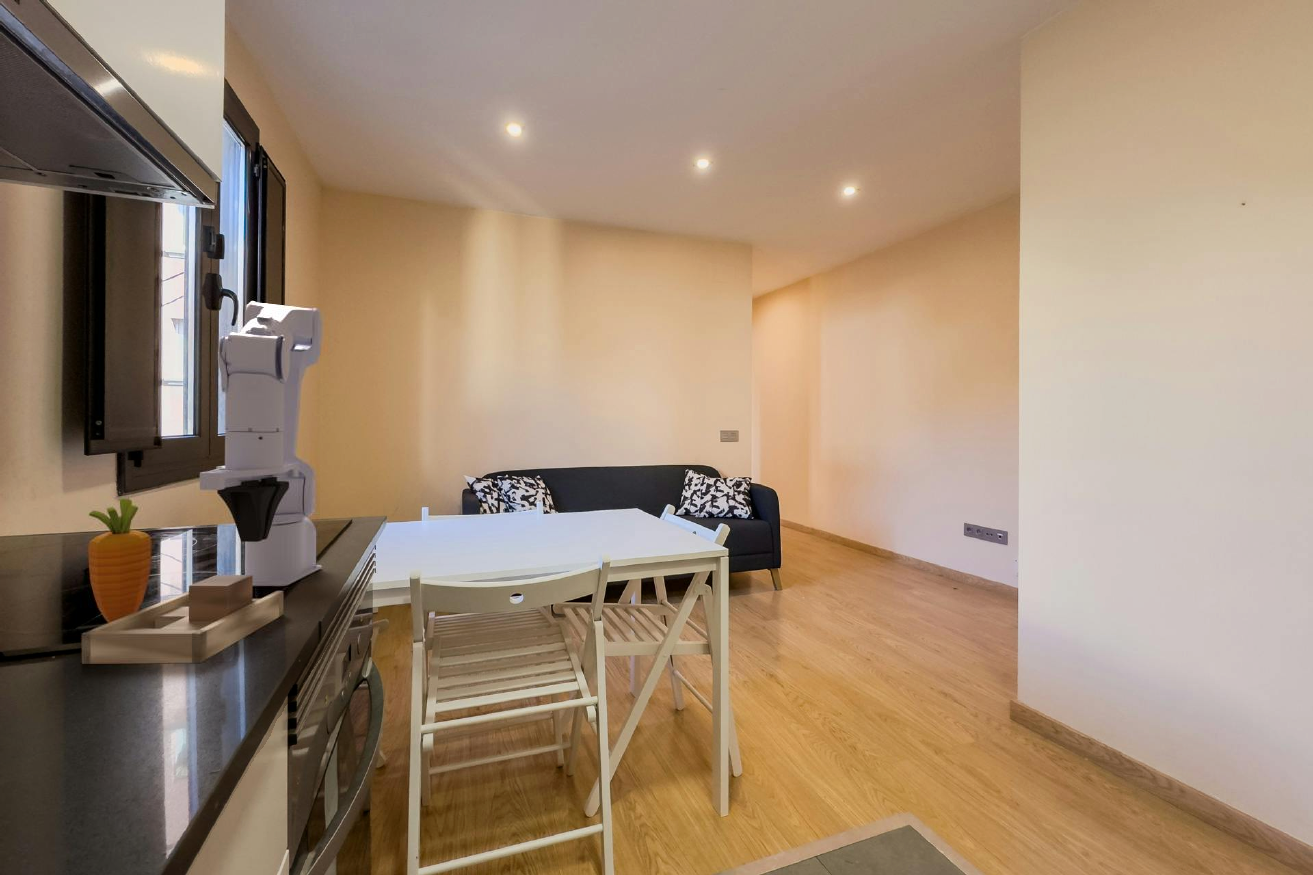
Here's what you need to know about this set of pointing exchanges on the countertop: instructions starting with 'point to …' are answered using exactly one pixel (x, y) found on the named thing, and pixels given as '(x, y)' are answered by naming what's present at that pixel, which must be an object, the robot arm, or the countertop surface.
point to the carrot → (119, 563)
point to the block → (219, 596)
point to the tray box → (174, 633)
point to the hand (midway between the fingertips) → (254, 540)
